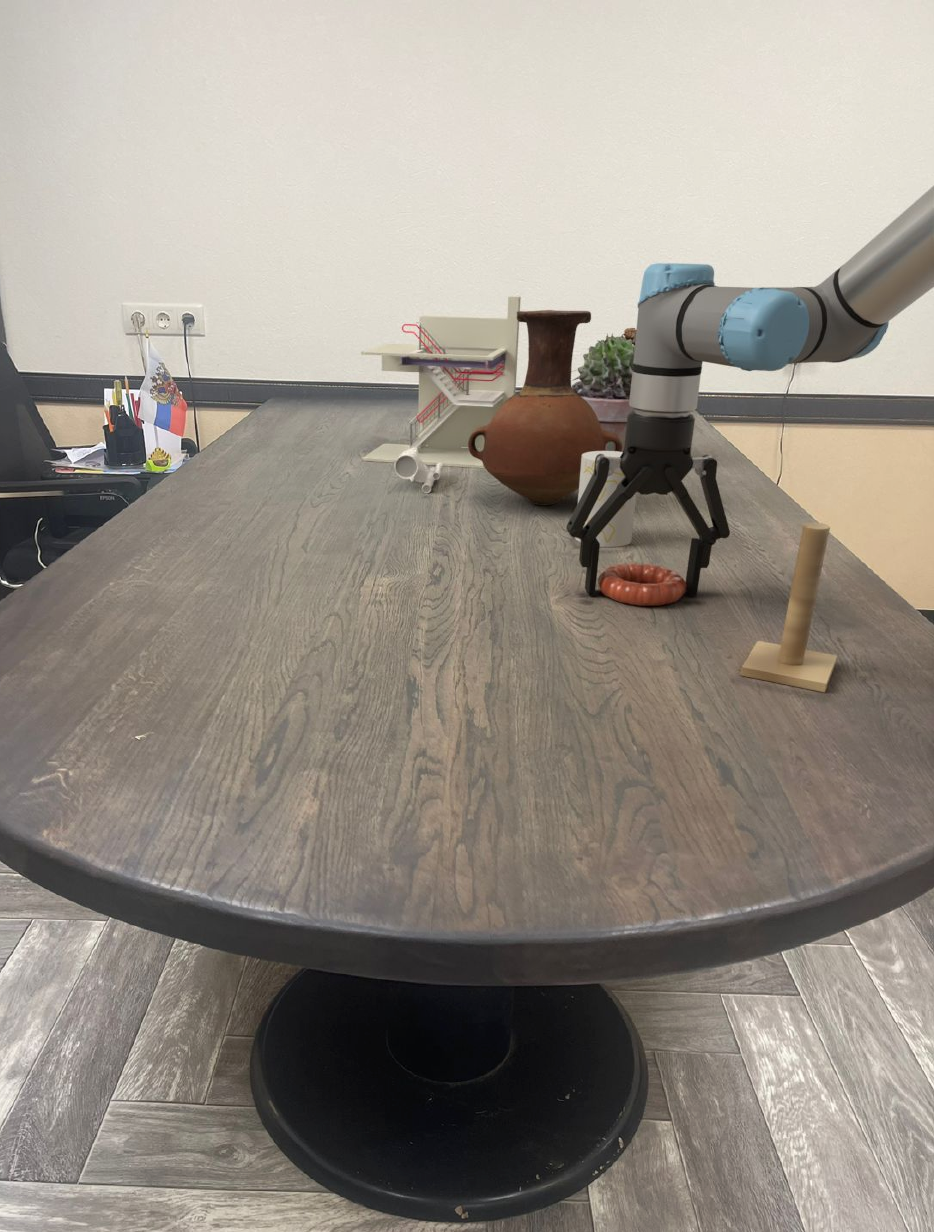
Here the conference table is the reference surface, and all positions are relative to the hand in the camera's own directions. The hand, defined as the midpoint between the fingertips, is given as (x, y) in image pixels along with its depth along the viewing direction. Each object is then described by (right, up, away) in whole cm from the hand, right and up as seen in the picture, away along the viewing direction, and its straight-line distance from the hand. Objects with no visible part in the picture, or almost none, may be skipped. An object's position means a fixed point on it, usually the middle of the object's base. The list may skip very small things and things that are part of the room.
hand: (640, 592), depth 117 cm
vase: (-7, +19, +41) cm, 45 cm away
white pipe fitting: (-27, +24, +53) cm, 64 cm away
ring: (0, +1, -1) cm, 1 cm away
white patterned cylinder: (0, +10, +22) cm, 24 cm away
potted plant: (+9, +32, +70) cm, 78 cm away
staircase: (-24, +34, +74) cm, 85 cm away
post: (+10, -10, -21) cm, 25 cm away
